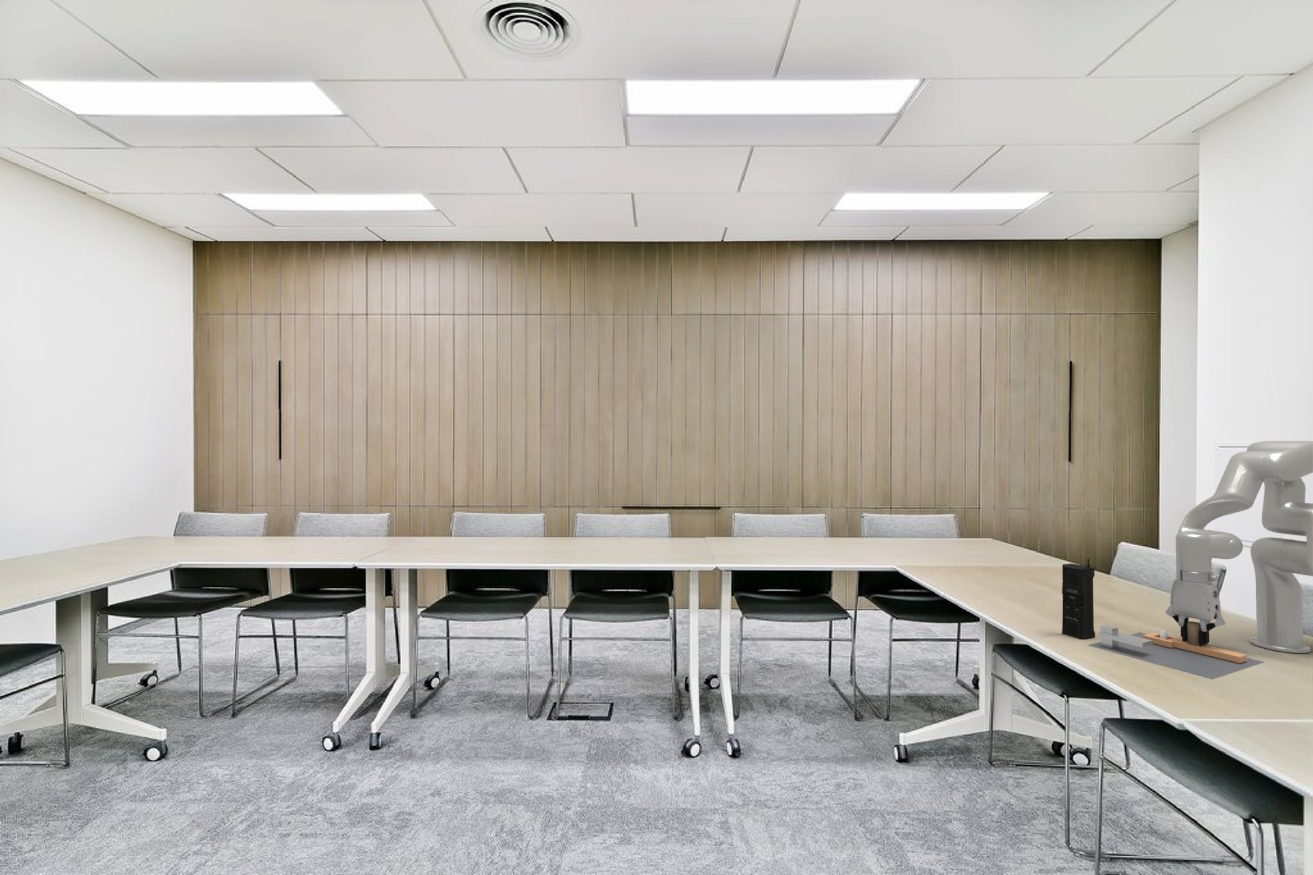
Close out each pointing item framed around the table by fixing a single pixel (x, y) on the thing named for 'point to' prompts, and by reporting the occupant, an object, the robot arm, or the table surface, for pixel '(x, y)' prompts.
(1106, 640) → the keeper
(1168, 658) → the pintle board
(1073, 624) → the portable radio
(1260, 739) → the table surface
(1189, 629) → the link
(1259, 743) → the table surface
